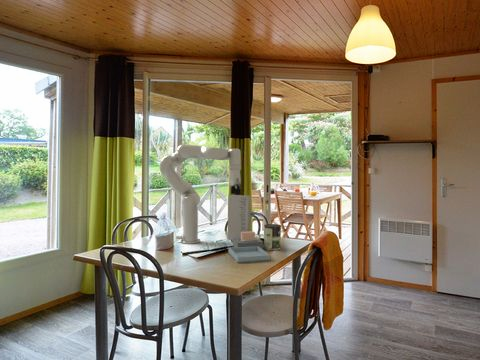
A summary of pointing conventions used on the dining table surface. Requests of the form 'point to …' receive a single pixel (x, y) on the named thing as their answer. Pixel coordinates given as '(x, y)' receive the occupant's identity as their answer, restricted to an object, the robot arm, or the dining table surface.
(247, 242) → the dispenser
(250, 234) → the pink rectangular block
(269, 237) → the coffee can
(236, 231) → the tall white slab
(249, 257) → the tray
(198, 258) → the dining table surface
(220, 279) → the dining table surface
